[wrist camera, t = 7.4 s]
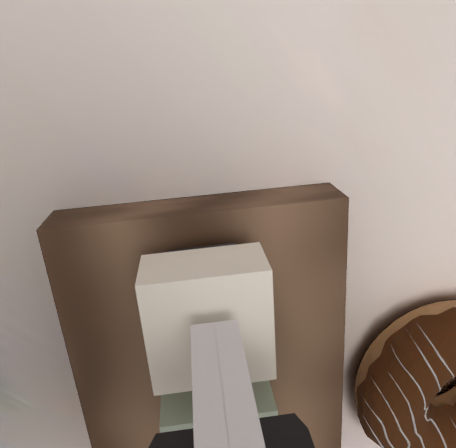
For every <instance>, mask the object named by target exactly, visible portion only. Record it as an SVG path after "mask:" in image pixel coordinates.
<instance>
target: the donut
mask: <svg viewBox="0 0 456 448" xmlns="http://www.w3.org/2000/svg"><path fill="white" fill-rule="evenodd" d="M454 377H456V300H449V301H441V302H435V303H432V304H428V305H425V306H422V307H419V308H417V309H415V310H412V311H410V312H408V313H407V314H405V315H403V316H402V317H400V318H398V319H397V320H395V321H394V322H393V323H392V324H390V325H389V326H388V327H387V328H386V329H385V330H384V331H382V332H381V333H380V334H379V335H378V337H377V338H376V339H375V340H374V341H373V343H372V344H371V345H370V347H369V348H368V350H367V351H366V353H365V355H364V357H363V359H362V361H361V364H360V366H359V369H358V372H357V376H356V381H355V401H356V406H357V411H358V417H359V420H360V423H361V425H362V427H363V429H364V432H365V434H366V435H367V437H369V438H370V439H371V440H373V441H374V442H375V443H376V444H378V445H379V446H380V447H382V448H456V386H455V387H453V388H452V389H450V390H449V391H447V392H445V393H443V394H441V395H438V396H436V394H437V393H438V392H440V391H441V388H442V387H443V386H444V385H445V384H447V383H448V382H449V381H450V380H451V379H454Z"/></svg>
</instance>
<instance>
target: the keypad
mask: <svg viewBox="0 0 456 448" xmlns="http://www.w3.org/2000/svg"><path fill="white" fill-rule="evenodd" d="M348 208H349V197H347V196H346V195H345V194H343V193H342V192H341V191H339V190H338V189H337V188H335V187H334V186H333V185H332V184H330V183H322V184H312V185H302V186H292V187H282V188H272V189H263V190H253V191H243V192H233V193H223V194H213V195H203V196H194V197H184V198H174V199H164V200H154V201H144V202H135V203H125V204H115V205H105V206H95V207H85V208H75V209H66V210H56V211H53V212H52V213H51V214H50V216H49V217H48V218H47V219H46V220H45V221H44V222H43V224H42V225H41V226H40V227H39V228H38V229H37V230H36V231H37V235H38V239H39V243H40V246H41V250H42V254H43V258H44V262H45V266H46V270H47V274H48V278H49V282H50V286H51V289H52V293H53V297H54V301H55V305H56V309H57V313H58V317H59V321H60V325H61V329H62V333H63V336H64V340H65V344H66V348H67V352H68V356H69V360H70V364H71V368H72V372H73V376H74V380H75V383H76V387H77V391H78V395H79V399H80V403H81V407H82V411H83V415H84V419H85V423H86V426H87V430H88V434H89V438H90V442H91V446H92V448H148V447H149V445H150V443H151V442H152V440H153V438H154V436H155V434H156V433H160V429H159V424H160V406H161V395H158V396H154V394H153V388H152V383H151V377H150V371H149V365H148V360H147V354H146V348H145V342H144V337H143V331H142V325H141V319H140V314H139V308H138V302H137V296H136V291H135V283H136V278H137V273H138V268H139V263H140V258H141V255H147V254H156V253H165V252H174V251H183V250H192V249H201V248H210V247H219V246H228V245H237V244H246V243H255V242H260V244H261V246H262V249H263V251H264V253H265V255H266V257H267V260H268V262H269V264H270V266H271V268H272V273H273V299H274V324H275V350H276V375H277V379H275V380H269V381H270V385H271V388H272V392H273V395H274V399H275V402H276V406H277V409H278V415H283V414H291V413H295V414H296V415H297V416H298V417H299V419H300V420H301V421H302V422H303V423H304V424H305V425H306V426H307V427H308V429H309V432H310V435H311V438H312V441H313V443H314V446H315V448H341V427H342V395H343V364H344V333H345V301H346V270H347V239H348Z"/></svg>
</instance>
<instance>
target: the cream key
mask: <svg viewBox="0 0 456 448" xmlns="http://www.w3.org/2000/svg"><path fill="white" fill-rule="evenodd" d="M135 291H136V296H137V302H138V308H139V314H140V319H141V325H142V331H143V337H144V342H145V348H146V354H147V360H148V365H149V371H150V377H151V383H152V388H153V394H154V396H158V395H165V394H172V393H180V392H187V391H192V366H191V333H190V325H195V324H203V323H212V322H220V321H228V320H236V319H237V320H238V325H239V329H240V334H241V338H242V343H243V347H244V352H245V356H246V361H247V365H248V370H249V375H250V379H251V383H253V382H260V381H267V380H275V379H277V375H276V350H275V324H274V299H273V273H272V268H271V266H270V264H269V262H268V260H267V257H266V255H265V253H264V251H263V249H262V246H261V244H260V242H255V243H246V244H237V245H228V246H219V247H210V248H201V249H192V250H183V251H174V252H165V253H156V254H147V255H141V258H140V263H139V268H138V273H137V278H136V283H135Z"/></svg>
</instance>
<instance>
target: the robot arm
mask: <svg viewBox="0 0 456 448" xmlns="http://www.w3.org/2000/svg"><path fill="white" fill-rule="evenodd" d="M190 333H191V366H192V400H193V428H192V429H184V430H177V431H170V432H163V433H156V434H155V436H154V438H153V440H152V442H151V443H150V445H149V447H148V448H315V446H314V443H313V441H312V438H311V435H310V432H309V429H308V427H307V426H306V425H305V424H304V423H303V422H302V421H301V420H300V419H299V417H298V416H297V415H296V414H295V413H291V414H283V415H276V416H269V417H262V418H259V415H258V411H257V406H256V402H255V397H254V393H253V388H252V384H251V379H250V375H249V370H248V365H247V361H246V356H245V352H244V347H243V343H242V338H241V334H240V329H239V325H238V320H237V319H236V320H228V321H220V322H212V323H203V324H195V325H190Z"/></svg>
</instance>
